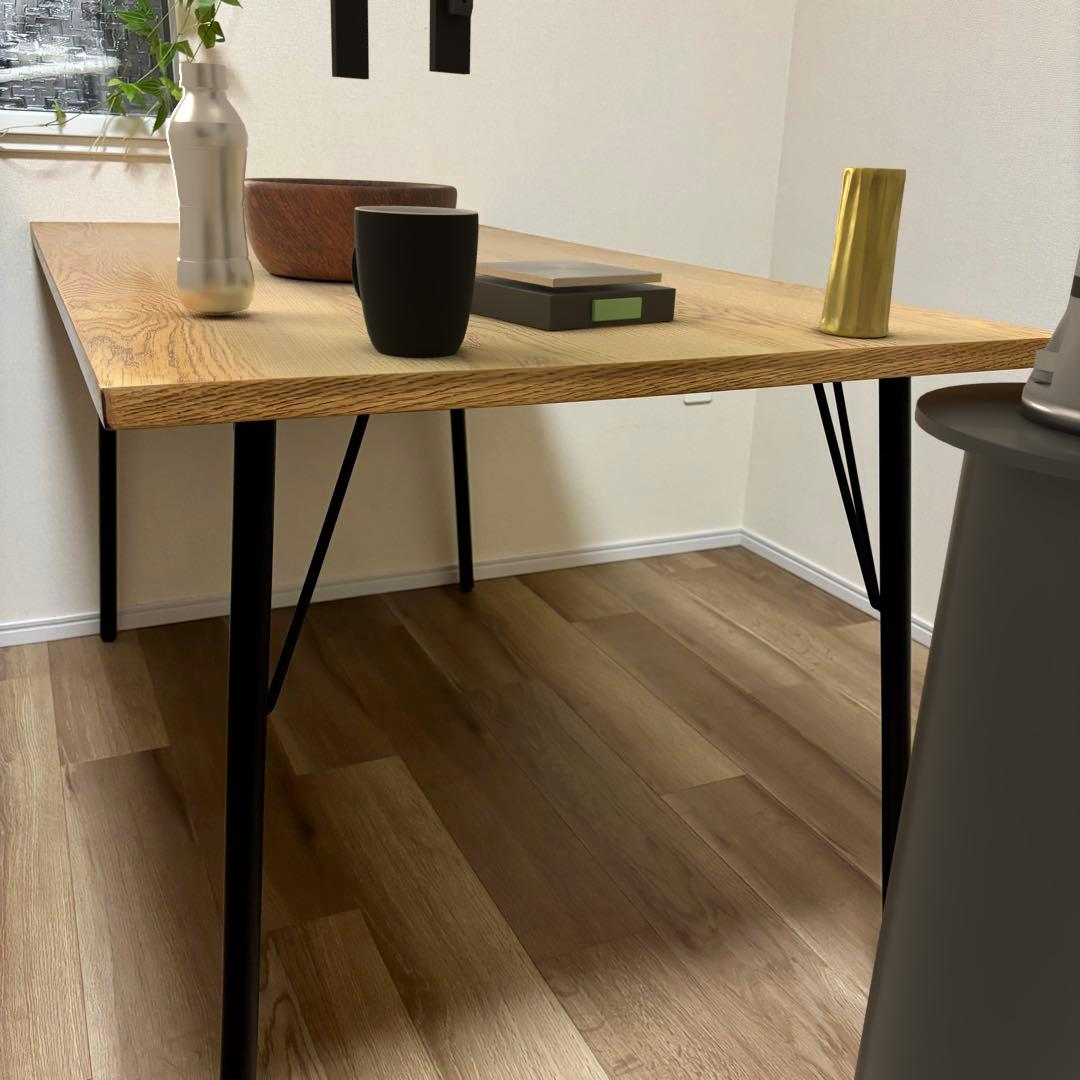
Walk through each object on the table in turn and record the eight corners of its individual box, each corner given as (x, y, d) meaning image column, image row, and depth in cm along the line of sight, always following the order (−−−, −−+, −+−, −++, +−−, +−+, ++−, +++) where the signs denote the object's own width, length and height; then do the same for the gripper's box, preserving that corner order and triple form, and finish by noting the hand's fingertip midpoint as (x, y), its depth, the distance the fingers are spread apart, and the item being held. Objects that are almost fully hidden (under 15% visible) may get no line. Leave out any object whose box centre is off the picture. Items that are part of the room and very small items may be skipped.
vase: (891, 340, 96) (916, 169, 91) (820, 335, 97) (841, 166, 92) (883, 330, 102) (906, 169, 97) (816, 326, 102) (836, 166, 98)
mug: (500, 352, 82) (504, 213, 79) (407, 365, 76) (407, 214, 72) (400, 331, 90) (400, 203, 86) (309, 340, 84) (304, 203, 80)
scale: (676, 321, 102) (679, 288, 101) (552, 331, 93) (554, 296, 92) (571, 300, 113) (572, 271, 112) (451, 308, 104) (452, 276, 103)
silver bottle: (214, 306, 99) (200, 67, 92) (272, 314, 96) (262, 68, 89) (160, 314, 93) (141, 60, 87) (220, 322, 90) (205, 61, 84)
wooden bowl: (425, 263, 144) (426, 181, 141) (483, 285, 122) (485, 190, 119) (231, 262, 136) (226, 175, 132) (255, 286, 114) (250, 183, 110)
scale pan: (661, 282, 101) (662, 273, 101) (553, 287, 93) (553, 278, 93) (572, 267, 111) (572, 259, 110) (466, 271, 103) (467, 263, 103)
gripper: (258, -251, 77) (271, 76, 84) (453, -367, 58) (449, 65, 65) (353, -225, 81) (358, 83, 88) (563, -326, 62) (547, 74, 70)
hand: (396, 76), depth 77 cm, fingers open, 13 cm apart
